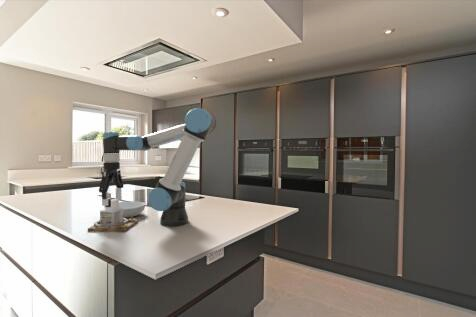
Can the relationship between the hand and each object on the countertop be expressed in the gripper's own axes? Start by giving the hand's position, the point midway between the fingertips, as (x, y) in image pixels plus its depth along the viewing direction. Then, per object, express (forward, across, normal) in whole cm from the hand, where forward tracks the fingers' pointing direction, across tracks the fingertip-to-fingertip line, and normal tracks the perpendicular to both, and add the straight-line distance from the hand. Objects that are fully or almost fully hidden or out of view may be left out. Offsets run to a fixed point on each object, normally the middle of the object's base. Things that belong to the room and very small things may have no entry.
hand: (112, 202), depth 125 cm
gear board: (+13, 0, +1) cm, 13 cm away
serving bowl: (+13, -21, -2) cm, 25 cm away
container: (+11, 0, -1) cm, 11 cm away
